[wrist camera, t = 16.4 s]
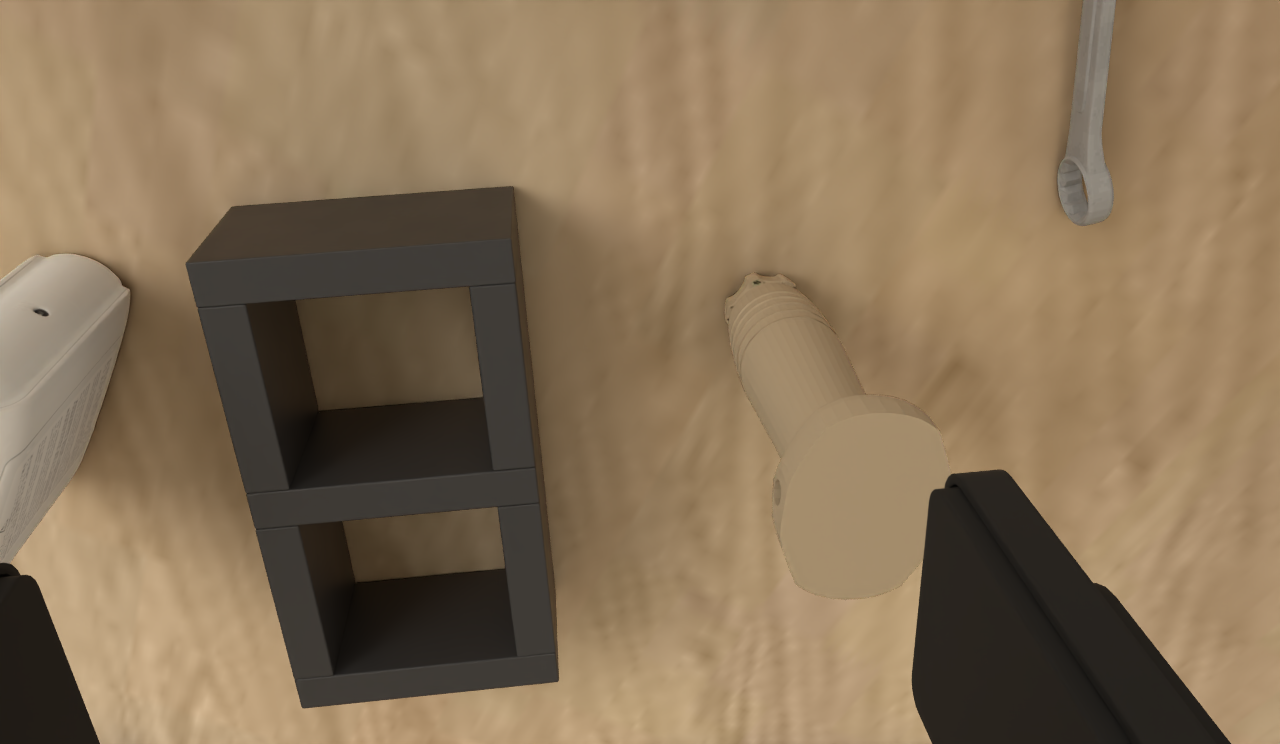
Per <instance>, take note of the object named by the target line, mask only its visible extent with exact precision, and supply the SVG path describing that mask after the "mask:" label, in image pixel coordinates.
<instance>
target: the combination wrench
mask: <svg viewBox="0 0 1280 744" xmlns="http://www.w3.org/2000/svg"><path fill="white" fill-rule="evenodd" d="M1115 6H1116V0H1083V6H1082V15H1081V25H1080V34H1079V44H1078V53H1077V63H1076V72H1075V82H1074V92H1073V101H1072V111H1071V120H1070V129H1069V136H1068V142H1067V149H1066V154H1065V158H1064V159H1063V160H1062V162H1061V164H1060V166H1059V170H1058V178H1057V183H1058V192H1059V197H1060V200H1061V204H1062V206H1063V209H1064V211H1065V213H1066V214H1067V216H1068V218H1069V219H1070V220H1071V221H1072V222H1073V223H1075V224H1076V225H1079V226H1086V225H1091V224H1095V223H1099V222H1102V221H1104V220H1105V219H1106V218H1108V216H1109V215H1110V213H1111V210H1112V207H1113V200H1114V192H1113V184H1112V179H1111V176H1110V172H1109V170H1108V168H1107V166H1106V164H1105V161H1104V154H1103V147H1102V124H1103V115H1104V106H1105V97H1106V88H1107V78H1108V69H1109V60H1110V51H1111V42H1112V33H1113V24H1114V15H1115ZM1082 176H1083V178H1084V181H1085V184H1086V189H1087V194H1088V202H1087V200H1086V197H1085V194H1084V191H1083V185H1082Z"/></svg>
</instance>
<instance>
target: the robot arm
mask: <svg viewBox="0 0 1280 744" xmlns="http://www.w3.org/2000/svg"><path fill="white" fill-rule="evenodd" d="M912 690H913V696H914V700H915V704H916V708H917V710H918V713H919V715H920V717H921V720H922V722H923V724H924V726H925V728H926V731H927V733H928V735H929V737H930V740H931V742H932V744H1231V743H1230V742H1229V740H1228V739H1227V738H1226V737H1225V735H1224V734H1223V733H1222V731H1221V730H1220V729H1219V728H1218V726H1217V725H1216V724H1215V723H1214V721H1213V720H1212V719H1211V717H1210V716H1209V715H1208V714H1207V712H1206V711H1205V710H1204V709H1203V707H1202V706H1201V705H1200V703H1199V702H1198V701H1197V700H1196V698H1195V697H1194V696H1193V695H1192V693H1191V692H1190V691H1189V689H1188V688H1187V687H1186V686H1185V684H1184V683H1183V682H1182V680H1181V679H1180V678H1179V677H1178V675H1177V674H1176V673H1175V672H1174V670H1173V669H1172V668H1171V666H1170V665H1169V664H1168V663H1167V661H1166V660H1165V659H1164V658H1163V656H1162V655H1161V654H1160V652H1159V651H1158V650H1157V649H1156V647H1155V646H1154V645H1153V644H1152V642H1151V641H1150V640H1149V638H1148V637H1147V636H1146V635H1145V633H1144V632H1143V631H1142V629H1141V628H1140V627H1139V626H1138V624H1137V623H1136V622H1135V621H1134V619H1133V618H1132V617H1131V615H1130V614H1129V613H1128V612H1127V610H1126V609H1125V608H1124V607H1123V605H1122V604H1121V603H1120V601H1119V600H1118V599H1117V598H1116V596H1114V595H1113V594H1112V593H1111V592H1110V591H1109V590H1108V589H1107V588H1106V587H1105V586H1102V585H1100V584H1097V583H1093V582H1092V581H1091V580H1090V578H1089V577H1088V576H1087V575H1086V573H1085V572H1084V571H1083V569H1082V568H1081V567H1080V565H1079V564H1078V563H1077V562H1076V560H1075V559H1074V558H1073V556H1072V555H1071V554H1070V552H1069V551H1068V550H1067V549H1066V547H1065V546H1064V545H1063V543H1062V542H1061V541H1060V539H1059V538H1058V537H1057V536H1056V534H1055V533H1054V532H1053V530H1052V529H1051V528H1050V526H1049V525H1048V524H1047V522H1046V521H1045V520H1044V519H1043V517H1042V516H1041V515H1040V513H1039V512H1038V511H1037V509H1036V508H1035V507H1034V506H1033V504H1032V503H1031V502H1030V500H1029V499H1028V498H1027V496H1026V495H1025V494H1024V493H1023V491H1022V490H1021V489H1020V487H1019V486H1018V485H1017V483H1016V482H1015V481H1014V480H1013V478H1012V477H1011V476H1010V475H1009V474H1008V473H1007V472H1006V471H1004V470H990V471H979V472H968V473H958V474H951V475H950V476H948V478H947V480H946V482H945V487H944V488H941V489H934V490H933V491H932V492H931V495H930V498H929V505H928V516H927V526H926V536H925V546H924V556H923V567H922V577H921V587H920V597H919V608H918V618H917V628H916V638H915V648H914V659H913V669H912ZM0 744H100V743H99V740H98V737H97V735H96V732H95V730H94V727H93V725H92V722H91V719H90V717H89V714H88V712H87V709H86V707H85V704H84V701H83V699H82V696H81V694H80V691H79V689H78V686H77V683H76V681H75V678H74V676H73V673H72V671H71V668H70V665H69V663H68V660H67V658H66V655H65V653H64V650H63V647H62V645H61V642H60V640H59V637H58V635H57V632H56V629H55V627H54V624H53V622H52V619H51V617H50V614H49V611H48V609H47V606H46V604H45V601H44V599H43V596H42V593H41V591H40V588H39V586H38V584H37V582H36V580H35V579H33V578H32V577H31V576H28V575H20V573H19V572H18V570H17V569H16V568H15V567H14V566H13V565H12V564H8V563H0Z"/></svg>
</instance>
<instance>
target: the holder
mask: <svg viewBox="0 0 1280 744" xmlns="http://www.w3.org/2000/svg"><path fill="white" fill-rule="evenodd" d="M186 267H187V271H188V275H189V279H190V283H191V287H192V290H193V294H194V298H195V302H196V306H197V307H198V312H199V316H200V320H201V324H202V328H203V332H204V335H205V339H206V343H207V347H208V351H209V355H210V358H211V362H212V366H213V370H214V374H215V378H216V381H217V385H218V389H219V393H220V397H221V401H222V404H223V408H224V412H225V416H226V420H227V423H228V427H229V431H230V435H231V439H232V443H233V446H234V450H235V454H236V458H237V462H238V466H239V469H240V473H241V477H242V481H243V485H244V489H245V492H246V493H247V494H246V496H247V499H248V503H249V507H250V511H251V515H252V519H253V522H254V526H255V528H256V534H257V538H258V542H259V546H260V549H261V553H262V557H263V561H264V565H265V569H266V572H267V576H268V580H269V584H270V588H271V592H272V595H273V599H274V603H275V607H276V611H277V615H278V618H279V622H280V626H281V630H282V634H283V638H284V641H285V645H286V649H287V653H288V657H289V661H290V664H291V668H292V672H293V676H294V679H295V683H296V687H297V691H298V695H299V698H300V702H301V706H302V708H312V707H322V706H331V705H341V704H351V703H360V702H370V701H379V700H389V699H399V698H408V697H418V696H427V695H437V694H447V693H456V692H466V691H475V690H485V689H494V688H504V687H514V686H523V685H533V684H542V683H552V682H558V681H559V669H558V644H557V618H556V593H555V582H554V572H553V563H552V553H551V543H550V534H549V524H548V514H547V505H546V495H545V486H544V476H543V466H542V457H541V447H540V438H539V428H538V419H537V409H536V399H535V390H534V380H533V370H532V361H531V351H530V342H529V332H528V322H527V313H526V303H525V294H524V284H523V274H522V265H521V255H520V245H519V236H518V228H517V216H516V207H515V197H514V187H513V186H509V187H495V188H482V189H468V190H454V191H440V192H426V193H413V194H399V195H385V196H371V197H358V198H344V199H330V200H316V201H302V202H289V203H275V204H261V205H247V206H234V207H231V208H230V209H229V211H228V212H227V213H226V214H225V216H224V217H223V218H222V219H221V220H220V222H219V223H218V224H217V225H216V227H215V228H214V229H213V230H212V232H211V233H210V234H209V235H208V236H207V238H206V239H205V240H204V241H203V243H202V244H201V245H200V246H199V247H198V249H197V250H196V251H195V252H194V254H193V255H192V256H191V257H190V259H189V260H188V261H187V262H186ZM466 286H470V287H469V290H470V298H471V306H472V313H473V321H474V329H475V336H476V344H477V352H478V360H479V367H480V375H481V383H482V390H483V398H474V399H462V400H450V401H439V402H427V403H415V404H404V405H392V406H380V407H369V408H357V409H346V410H334V411H322V412H318V407H317V402H316V397H315V393H314V388H313V383H312V379H311V374H310V369H309V365H308V360H307V355H306V351H305V346H304V341H303V337H302V332H301V327H300V323H299V318H298V313H297V309H296V304H295V300H301V299H313V298H326V297H339V296H352V295H364V294H377V293H390V292H402V291H415V290H428V289H441V288H453V287H466ZM489 507H498V514H499V522H500V529H501V537H502V545H503V552H504V560H505V568H506V569H502V570H491V571H481V572H471V573H460V574H450V575H440V576H429V577H419V578H409V579H398V580H388V581H378V582H367V583H357V584H355V580H354V575H353V571H352V566H351V561H350V557H349V552H348V547H347V543H346V538H345V533H344V529H343V524H342V521H349V520H360V519H371V518H381V517H392V516H403V515H414V514H424V513H435V512H446V511H457V510H468V509H478V508H489Z"/></svg>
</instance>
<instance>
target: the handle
mask: <svg viewBox="0 0 1280 744" xmlns="http://www.w3.org/2000/svg"><path fill="white" fill-rule="evenodd" d="M724 315H725V320H726V323H727V324H728V331H729V341H730V347H731V351H732V355H733V359H734V363H735V366H736V370H737V373H738V375H739V378H740V381H741V383H742V386H743V388H744V391H745V393H746V395H747V397H748V399H749V400H750V402H751V404H752V406H753V408H754V410H755V411H756V413H757V415H758V417H759V419H760V421H761V422H762V424H763V426H764V428H765V430H766V432H767V433H768V435H769V437H770V439H771V441H772V443H773V445H774V447H775V449H776V450H777V452H778V454H779V456H780V458H781V460H780V462H779V464H778V466H777V469H776V472H775V475H774V479H773V494H772V518H773V521H774V525H775V529H776V533H777V536H778V539H779V542H780V545H781V548H782V550H783V553H784V556H785V559H786V561H787V564H788V567H789V569H790V572H791V574H792V577H793V579H794V582H795V584H796V585H797V586H798V587H800V588H802V589H803V590H805V591H807V592H809V593H811V594H814V595H816V596H821V597H825V598H830V599H843V600H849V599H864V598H869V597H875V596H879V595H881V594H884V593H887V592H890V591H892V590H894V589H896V588H898V587H900V586H902V584H903V583H904V582H905V581H906V580H907V579H908V577H909V576H910V575H911V574H912V573H913V572H914V570H915V569H916V568H917V567H918V566H919V564H920V563H921V562H922V561H923V556H924V546H925V536H926V526H927V516H928V505H929V498H930V495H931V492H932V491H933V490H934V489H941V488H944V487H945V482H946V480H947V478H948V476H950V475H951V469H950V465H949V461H948V457H947V453H946V450H945V446H944V443H943V439H942V436H941V432H940V430H939V429H938V428H937V426H936V425H935V423H934V422H933V421H932V419H931V418H930V417H929V416H928V415H927V414H926V413H925V412H924V411H922V410H921V409H920V408H918V407H917V406H915V405H913V404H911V403H910V402H908V401H906V400H903V399H899V398H896V397H892V396H885V395H876V394H871V395H866V393H865V391H864V389H863V387H862V385H861V383H860V381H859V379H858V377H857V375H856V372H855V370H854V368H853V366H852V364H851V362H850V360H849V358H848V355H847V353H846V351H845V349H844V347H843V345H842V343H841V341H840V340H839V338H838V336H837V335H836V333H835V332H834V330H833V328H832V327H831V325H830V324H829V322H828V321H827V320H826V318H825V317H824V316H823V314H822V313H821V312H820V311H819V310H818V308H817V307H816V306H815V305H814V304H813V303H812V302H811V301H810V300H809V299H808V298H807V297H806V296H805V295H803V294H802V293H800V292H799V291H798V290H796V285H795V284H794V283H793V282H792V281H791V280H790V279H788V278H787V277H785V276H784V275H782V274H777V275H776V276H771V277H766V276H761V275H758V274H757V273H752V274H749V275H747V276H745V278H744V282H743V284H742V286H741V287H740V289H739V290H738V291H737V292H736V293H735V294H734V295H733V296H731V297H728V298H727V299H726V301H725V306H724Z"/></svg>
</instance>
